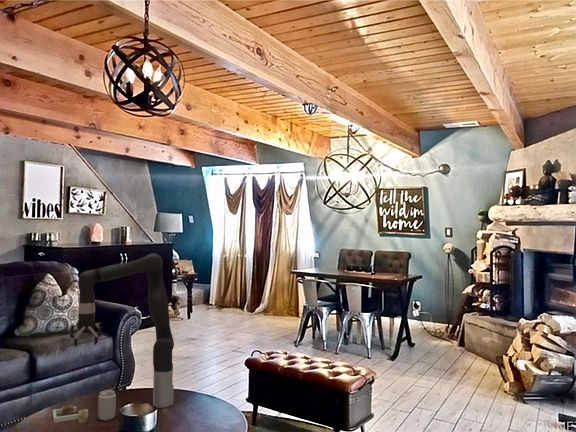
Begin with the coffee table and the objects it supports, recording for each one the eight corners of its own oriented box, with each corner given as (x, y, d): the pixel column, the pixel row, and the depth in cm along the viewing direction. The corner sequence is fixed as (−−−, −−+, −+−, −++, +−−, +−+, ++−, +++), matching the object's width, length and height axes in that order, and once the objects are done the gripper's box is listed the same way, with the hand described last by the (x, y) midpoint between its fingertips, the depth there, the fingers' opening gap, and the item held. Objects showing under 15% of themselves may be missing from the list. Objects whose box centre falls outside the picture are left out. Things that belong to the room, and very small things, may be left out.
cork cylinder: (87, 419, 221) (87, 408, 221) (88, 422, 217) (88, 411, 217) (77, 421, 219) (78, 409, 219) (78, 424, 215) (79, 412, 215)
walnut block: (72, 414, 227) (72, 404, 227) (73, 417, 223) (73, 407, 223) (61, 415, 225) (62, 405, 225) (62, 419, 221) (62, 409, 221)
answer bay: (76, 410, 231) (76, 406, 231) (78, 419, 221) (78, 414, 221) (52, 414, 226) (52, 409, 226) (53, 422, 216) (54, 418, 216)
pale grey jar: (109, 422, 218) (110, 395, 219) (94, 420, 220) (95, 393, 220) (118, 415, 226) (119, 389, 226) (104, 414, 227) (104, 388, 227)
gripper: (101, 309, 243) (100, 342, 242) (70, 311, 236) (69, 345, 236) (103, 312, 236) (102, 345, 236) (71, 314, 229) (70, 348, 229)
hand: (85, 345), depth 236 cm, fingers open, 8 cm apart
